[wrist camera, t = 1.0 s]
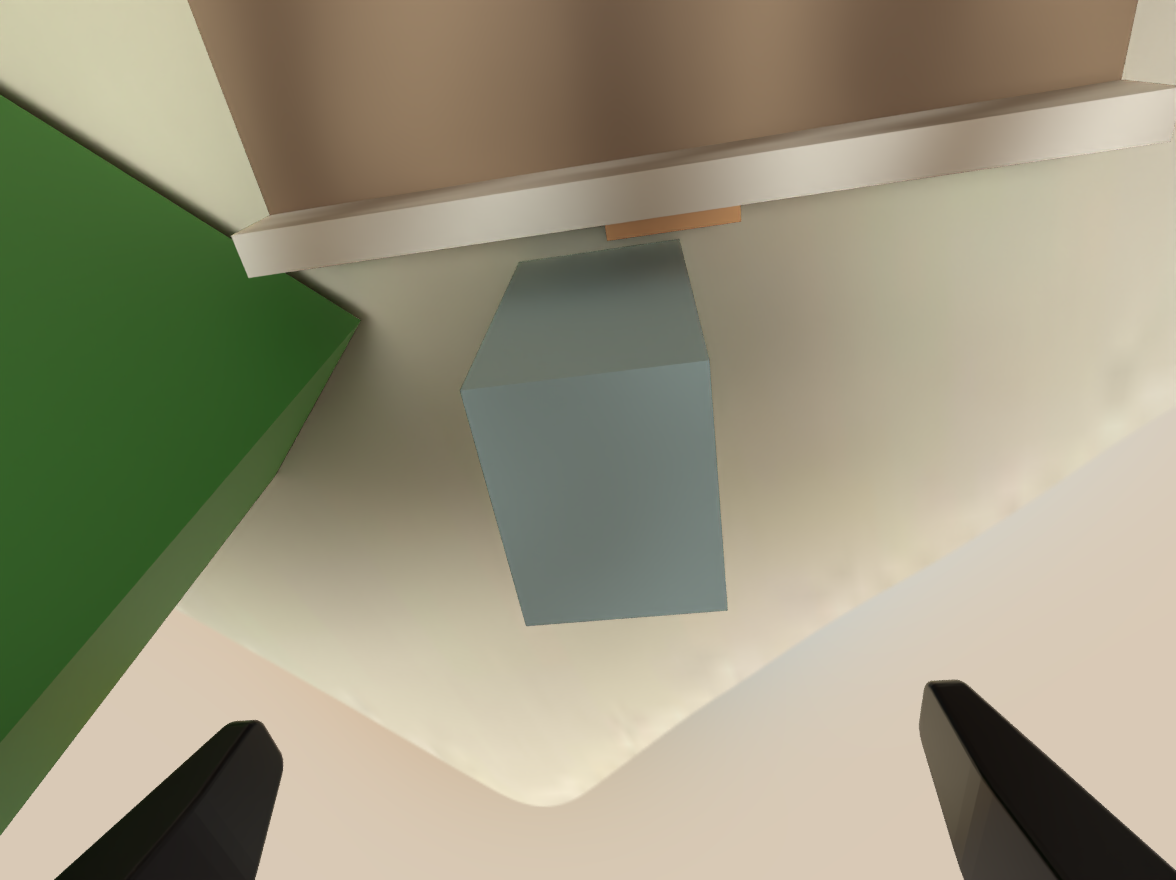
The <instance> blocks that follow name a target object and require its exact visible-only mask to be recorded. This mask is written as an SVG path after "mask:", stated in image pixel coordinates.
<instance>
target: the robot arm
mask: <svg viewBox="0 0 1176 880" xmlns="http://www.w3.org/2000/svg"><path fill="white" fill-rule="evenodd" d="M919 730H920V737H921V741H922V745H923V748H924V752H925V754H926V758H927V761H928V765H929V768H930V772H931V775H932V778H933V782H934V785H935V788H936V792H937V795H938V798H939V802H940V805H941V808H942V812H943V815H944V819H945V822H946V825H947V828H948V832H949V835H950V839H951V842H952V845H953V849H954V852H955V855H956V858H957V861H958V864H959V867H960V870H961V873H962V875H963V878H964V880H1176V870H1175V869H1174V868H1173V867H1171V866H1170V865H1169V864H1168V863H1167V862H1166V861H1165V860H1164V859H1162V858H1161V857H1160V856H1159V855H1158V854H1157V853H1156V852H1155V851H1153V850H1152V849H1151V848H1150V847H1149V846H1148V845H1147V844H1145V843H1144V842H1143V841H1142V840H1141V839H1140V838H1139V837H1138V836H1136V835H1135V834H1134V833H1133V832H1132V831H1131V830H1130V829H1129V828H1127V827H1126V826H1125V825H1124V824H1123V823H1122V822H1121V821H1120V820H1119V819H1117V818H1116V817H1115V816H1114V815H1113V814H1112V813H1111V812H1110V811H1109V810H1107V809H1106V808H1105V807H1104V806H1103V805H1102V804H1101V803H1099V802H1098V801H1097V800H1096V799H1095V798H1094V797H1093V796H1092V795H1091V794H1089V793H1088V792H1087V791H1086V790H1085V789H1084V788H1083V787H1082V786H1080V785H1079V784H1078V783H1077V782H1076V781H1075V780H1074V779H1073V778H1071V777H1070V776H1069V775H1068V774H1067V773H1066V772H1065V771H1064V770H1063V769H1061V768H1060V767H1059V766H1058V765H1057V764H1056V763H1055V762H1053V761H1052V760H1051V759H1050V758H1049V757H1048V756H1047V755H1046V754H1045V753H1043V752H1042V751H1041V750H1040V749H1039V748H1038V747H1037V746H1036V745H1034V744H1033V743H1032V742H1031V741H1030V740H1029V739H1028V738H1027V737H1025V736H1024V735H1023V734H1022V733H1021V732H1020V731H1019V730H1018V729H1017V728H1015V727H1014V726H1013V725H1012V724H1010V722H1009V721H1008V720H1006V719H1005V718H1004V717H1003V716H1002V715H1001V714H1000V713H998V712H997V711H996V710H995V709H994V708H993V707H992V706H991V705H990V704H988V703H987V702H986V701H985V700H984V699H983V698H981V696H979V695H978V694H977V693H976V692H975V691H974V690H973V689H972V688H971V687H969V686H968V685H967V684H966V683H964V682H962V681H960V680H939V681H930V682H928V683H927V684H926V685H925V688H924V693H923V700H922V706H921V713H920V721H919ZM282 772H283V758H282V754H281V752H280V750H279V749H278V747H277V745H276V744H275V742H274V740H273V739H272V737H271V736H270V734H269V732H268V731H267V729H266V727H265V726H264V724H263V723H262V722H260V721H258V720H247V721H235V722H231V723H229V724H227V725H226V726H224V727H223V728H222V729H221V730H220V731H218V732H217V734H215V735H214V736H213V737H212V738H211V739H210V740H209V741H207V742H206V743H205V744H204V745H203V746H202V747H201V748H200V749H199V750H198V751H196V752H195V753H194V754H193V755H192V756H191V757H190V758H189V759H188V760H186V761H185V762H184V763H183V764H182V765H181V766H180V767H179V768H177V769H176V770H175V771H174V772H173V773H172V774H171V775H170V776H169V777H168V778H166V779H165V780H164V781H163V782H162V783H161V784H160V785H159V786H158V787H156V788H155V789H154V790H153V791H152V792H151V793H150V794H149V795H148V796H146V797H145V798H144V799H143V800H142V801H141V802H140V803H139V804H138V805H136V807H134V808H133V809H132V810H131V811H130V812H129V813H128V814H126V816H124V817H123V818H122V819H121V820H120V821H119V822H118V823H116V824H115V825H114V826H113V827H112V828H111V829H110V830H109V831H108V832H106V833H105V834H104V835H103V836H102V837H101V838H100V839H99V840H98V841H97V842H95V843H94V844H93V845H92V846H91V847H90V848H89V849H88V850H86V851H85V852H84V853H83V854H82V855H81V856H80V857H79V858H78V859H76V860H75V861H74V862H73V863H72V864H71V865H70V866H69V867H68V868H66V869H65V870H64V871H63V872H62V873H61V874H60V875H59V876H58V877H56V879H54V880H255V877H256V873H257V870H258V866H259V863H260V858H261V855H262V851H263V847H264V843H265V839H266V835H267V831H268V827H269V824H270V820H271V816H272V812H273V808H274V804H275V800H276V796H277V792H278V788H279V785H280V781H281V777H282Z"/></svg>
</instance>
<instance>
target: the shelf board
mask: <svg viewBox="0 0 1176 880" xmlns="http://www.w3.org/2000/svg"><path fill="white" fill-rule="evenodd" d="M188 3H189V5H190V8H191V11H192V13H193V16H194V18H195V21H196V24H197V26H198V29H199V31H200V34H201V37H202V39H203V42H204V44H205V47H206V50H207V52H208V55H209V58H210V60H211V63H212V65H213V68H214V71H215V73H216V76H217V78H218V81H219V84H220V86H221V89H222V91H223V94H224V97H225V99H226V102H227V105H228V107H229V110H230V112H231V115H232V118H233V120H234V123H235V125H236V128H237V131H238V133H239V136H240V138H241V141H242V144H243V146H244V149H245V151H246V154H247V157H248V159H249V162H250V165H251V167H252V170H253V172H254V175H255V178H256V180H257V183H258V185H259V188H260V191H261V193H262V196H263V198H264V201H265V204H266V206H267V209H268V212H269V214H270V215H269V216H267V217H265V218H264V219H262V220H260V221H258V222H256V223H254V224H252V225H250V226H248V227H246V228H245V229H243V230H241V231H239V232H237V233H235V234H233V235H231V237H232V239H233V242H234V244H235V247H236V249H237V251H238V254H239V256H240V259H241V261H242V263H243V266H244V268H245V271H246V273H247V275H248V278H252V277H258V276H265V275H272V274H279V273H286V272H292V271H299V270H306V269H313V268H319V267H326V266H333V265H340V264H346V263H353V262H360V261H367V260H373V259H380V258H387V257H394V256H401V255H407V254H414V253H421V252H428V251H434V250H441V249H448V248H455V247H461V246H468V245H475V244H482V243H488V242H495V241H502V240H509V239H516V238H522V237H529V236H536V235H543V234H549V233H556V232H563V231H570V230H576V229H583V228H590V227H597V226H603V225H605V230H606V237H607V241H610V240H617V239H624V238H631V237H638V236H645V235H652V234H659V233H665V232H672V231H679V230H686V229H693V228H700V227H707V226H714V225H721V224H728V223H734V222H741V205H746V204H752V203H759V202H766V201H773V200H779V199H786V198H793V197H800V196H806V195H813V194H820V193H827V192H833V191H840V190H847V189H854V188H861V187H867V186H874V185H881V184H888V183H894V182H901V181H908V180H915V179H921V178H928V177H935V176H942V175H948V174H955V173H962V172H969V171H976V170H982V169H989V168H996V167H1003V166H1009V165H1016V164H1023V163H1030V162H1036V161H1043V160H1050V159H1057V158H1063V157H1070V156H1077V155H1084V154H1091V153H1097V152H1104V151H1111V150H1118V149H1124V148H1131V147H1138V146H1145V145H1151V144H1158V143H1165V142H1171V139H1172V135H1173V131H1174V127H1175V123H1176V85H1167V84H1158V83H1148V82H1139V81H1130V80H1121V78H1122V73H1123V69H1124V64H1125V59H1126V55H1127V50H1128V45H1129V40H1130V36H1131V31H1132V26H1133V22H1134V17H1135V12H1136V7H1137V3H1138V0H188Z"/></svg>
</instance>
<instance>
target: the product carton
mask: <svg viewBox="0 0 1176 880" xmlns="http://www.w3.org/2000/svg"><path fill="white" fill-rule="evenodd" d="M460 393H461V396H462V400H463V403H464V407H465V411H466V414H467V418H468V421H469V425H470V428H471V432H472V435H473V439H474V443H475V446H476V450H477V453H478V457H479V460H480V464H481V467H482V471H483V475H484V478H485V482H486V485H487V489H488V492H489V496H490V499H491V503H492V507H493V510H494V514H495V517H496V521H497V524H498V528H499V531H500V535H501V539H502V542H503V546H504V549H505V553H506V556H507V560H508V563H509V567H510V571H511V574H512V578H513V581H514V585H515V588H516V592H517V595H518V599H519V603H520V606H521V610H522V613H523V617H524V620H525V624H526V626H534V625H547V624H560V623H573V622H585V621H598V620H611V619H624V618H637V617H650V616H663V615H676V614H688V613H701V612H714V611H727V610H728V609H727V595H726V582H725V568H724V554H723V540H722V527H721V513H720V499H719V485H718V472H717V458H716V444H715V431H714V417H713V403H712V389H711V376H710V362H709V357H708V353H707V349H706V345H705V341H704V337H703V333H702V329H701V325H700V321H699V317H698V313H697V309H696V305H695V301H694V296H693V292H692V288H691V284H690V280H689V276H688V272H687V268H686V264H685V260H684V256H683V252H682V248H681V244H680V240H679V239H677V240H670V241H663V242H656V243H649V244H642V245H635V246H628V247H621V248H614V249H607V250H600V251H593V252H586V253H579V254H572V255H565V256H558V257H551V258H544V259H537V260H530V261H523V262H519V263H518V265H517V267H516V270H515V272H514V274H513V276H512V278H511V280H510V283H509V285H508V287H507V289H506V291H505V294H504V296H503V298H502V300H501V302H500V304H499V307H498V309H497V311H496V313H495V315H494V317H493V320H492V322H491V324H490V326H489V328H488V331H487V333H486V335H485V337H484V339H483V341H482V344H481V346H480V348H479V350H478V352H477V354H476V357H475V359H474V361H473V363H472V365H471V368H470V370H469V372H468V374H467V376H466V378H465V381H464V383H463V385H462V387H461V389H460Z"/></svg>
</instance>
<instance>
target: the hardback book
mask: <svg viewBox="0 0 1176 880" xmlns="http://www.w3.org/2000/svg"><path fill="white" fill-rule="evenodd" d="M360 321H361V320H360V319H358V318H356V317H355V316H353V315H352V314H350V313H348V312H347V311H345V310H344V309H342V308H340V307H339V306H337V305H336V304H334V303H332V302H331V301H329V300H328V299H326V298H324V297H323V296H321V295H320V294H318V293H316V292H315V291H313V290H312V289H310V288H308V287H307V286H305V285H304V284H302V283H301V282H299V281H297V280H296V279H294V278H293V277H291V276H289V275H288V274H286V273H279V274H272V275H265V276H258V277H252V278H248V275H247V273H246V271H245V268H244V266H243V263H242V261H241V259H240V256H239V254H238V251H237V249H236V247H235V244H234V242H233V240H232V239H230V238H229V237H227V236H225V235H224V234H222V233H221V232H219V231H217V230H216V229H214V228H213V227H211V226H209V225H208V224H206V223H205V222H203V221H201V220H200V219H198V218H197V217H195V216H193V215H192V214H190V213H189V212H187V211H185V210H184V209H182V208H181V207H179V206H177V205H176V204H174V203H173V202H171V201H169V200H168V199H166V198H165V197H163V196H161V195H160V194H158V193H157V192H155V191H153V190H152V189H150V188H149V187H147V186H145V185H144V184H142V183H141V182H139V181H138V180H136V179H134V178H133V177H131V176H130V175H128V174H126V173H125V172H123V171H122V170H120V169H118V168H117V167H115V166H114V165H112V164H110V163H109V162H107V161H106V160H104V159H102V158H101V157H99V156H98V155H96V154H94V153H93V152H91V151H90V150H88V149H86V148H85V147H83V146H82V145H80V144H78V143H77V142H75V141H74V140H72V139H70V138H69V137H67V136H66V135H64V134H62V133H61V132H59V131H58V130H56V129H54V128H53V127H51V126H50V125H48V124H46V123H45V122H43V121H42V120H40V119H38V118H37V117H35V116H34V115H32V114H30V113H29V112H27V111H26V110H24V109H22V108H21V107H19V106H18V105H16V104H14V103H13V102H11V101H10V100H8V99H6V98H5V97H3V96H2V95H0V835H1V834H2V833H3V831H4V830H5V829H6V827H7V826H8V825H9V824H10V822H11V821H12V820H13V818H14V817H15V816H16V814H17V813H18V812H19V810H20V809H21V808H22V806H23V805H24V804H25V803H26V801H27V800H28V799H29V797H30V796H31V794H32V793H33V792H34V791H35V789H36V788H37V787H38V786H39V784H40V783H41V782H42V780H43V779H44V778H45V776H46V775H47V774H48V772H49V771H50V770H51V768H52V767H53V766H54V765H55V763H56V762H57V761H58V759H59V758H60V757H61V755H62V754H63V753H64V751H65V750H66V749H67V748H68V746H69V745H70V744H71V742H72V741H73V740H74V738H75V737H76V736H77V734H78V733H79V732H80V730H81V729H82V728H83V726H84V725H85V724H86V723H87V721H88V720H89V719H90V717H91V716H92V715H93V714H94V712H95V711H96V709H97V708H98V707H99V706H100V704H101V703H102V702H103V700H104V699H105V698H106V696H107V695H108V694H109V693H110V691H111V690H112V689H113V687H114V686H115V685H116V683H117V682H118V681H119V680H120V678H121V677H122V676H123V674H124V673H125V672H126V670H127V669H128V668H129V666H130V665H131V664H132V662H133V661H134V660H135V658H136V657H137V656H138V655H139V653H140V652H141V651H142V649H143V648H144V646H145V645H146V644H147V643H148V641H149V640H150V639H151V638H152V636H153V635H154V634H155V632H156V631H157V630H158V628H159V627H160V626H161V625H162V623H163V622H164V621H165V619H166V618H167V617H168V615H169V614H170V613H171V611H172V610H173V609H174V608H175V606H176V605H177V604H178V602H179V601H180V600H181V598H182V597H183V596H184V594H185V593H186V592H187V591H188V589H189V588H190V587H191V585H192V584H193V583H194V581H195V580H196V579H197V577H198V576H199V575H200V573H201V572H202V571H203V570H204V568H205V567H206V566H207V564H208V563H209V562H210V560H211V559H212V558H213V556H214V555H215V554H216V553H217V551H218V550H219V549H220V547H221V546H222V545H223V543H224V542H225V541H226V539H227V538H228V537H229V536H230V534H231V533H232V532H233V530H234V529H235V528H236V526H237V525H238V524H239V522H240V521H241V520H242V519H243V517H244V516H245V515H246V513H247V512H248V511H249V509H250V508H251V507H252V505H253V504H254V503H255V501H256V500H257V499H258V498H259V496H260V495H261V494H262V492H263V491H264V490H265V488H266V487H267V486H268V484H269V483H270V482H271V481H272V479H273V478H274V477H275V475H276V473H277V471H278V470H279V468H280V466H281V464H282V462H283V460H284V459H285V457H286V455H287V453H288V451H289V450H290V448H291V446H292V444H293V442H294V441H295V439H296V437H297V435H298V433H299V432H300V430H301V428H302V426H303V424H304V422H305V421H306V419H307V417H308V415H309V413H310V412H311V410H312V408H313V406H314V404H315V403H316V401H317V399H318V397H319V395H320V393H321V392H322V390H323V388H324V386H325V384H326V383H327V381H328V379H329V377H330V375H331V374H332V372H333V370H334V368H335V366H336V365H337V363H338V361H339V359H340V357H341V355H342V354H343V352H344V350H345V348H346V346H347V345H348V343H349V341H350V339H351V337H352V336H353V334H354V332H355V330H356V328H357V326H358V325H359V323H360Z"/></svg>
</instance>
